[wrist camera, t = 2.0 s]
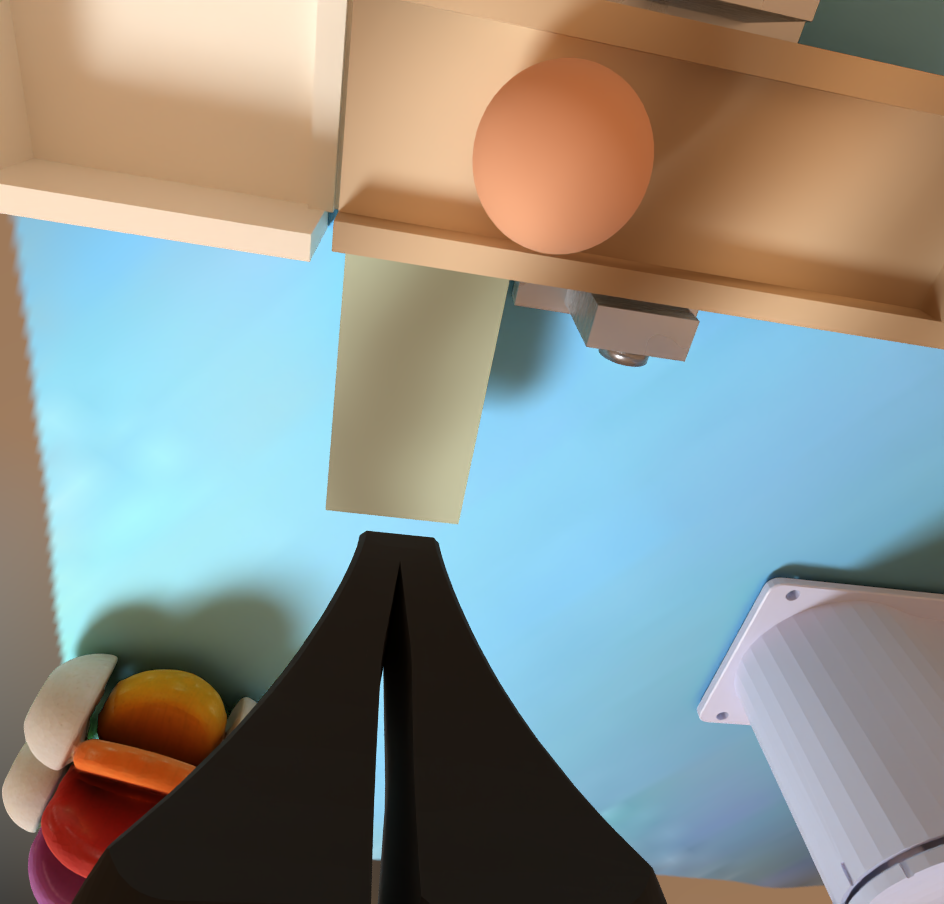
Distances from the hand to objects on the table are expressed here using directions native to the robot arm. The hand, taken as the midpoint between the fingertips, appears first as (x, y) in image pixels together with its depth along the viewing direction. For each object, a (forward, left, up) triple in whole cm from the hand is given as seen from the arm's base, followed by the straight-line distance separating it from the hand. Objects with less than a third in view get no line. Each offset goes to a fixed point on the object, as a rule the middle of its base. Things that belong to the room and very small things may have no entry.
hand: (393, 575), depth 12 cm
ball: (-2, -7, -3) cm, 8 cm away
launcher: (-5, -3, -7) cm, 10 cm away
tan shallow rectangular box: (+6, -7, -9) cm, 13 cm away
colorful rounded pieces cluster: (+8, +17, -9) cm, 21 cm away
